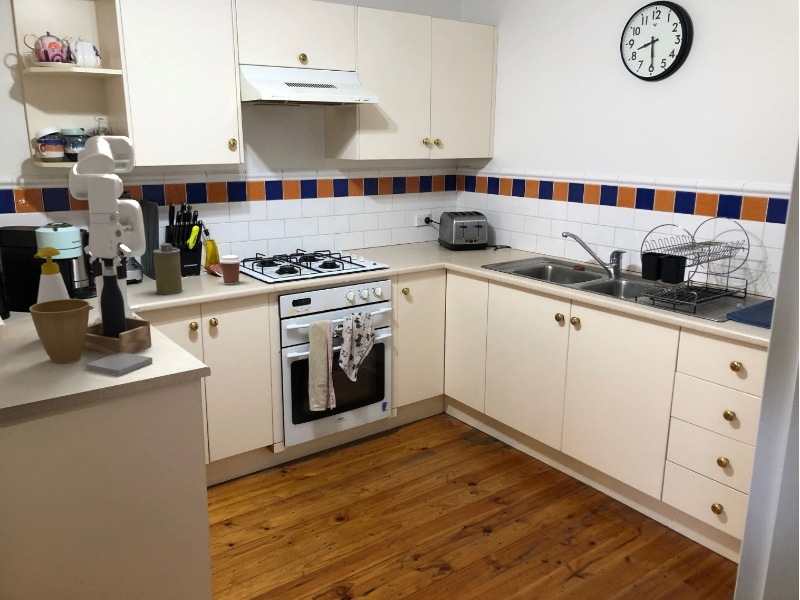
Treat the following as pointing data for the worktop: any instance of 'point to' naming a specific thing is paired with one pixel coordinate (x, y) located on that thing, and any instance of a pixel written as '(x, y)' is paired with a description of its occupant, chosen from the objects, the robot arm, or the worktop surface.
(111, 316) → the black water bottle
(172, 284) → the canister
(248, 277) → the worktop surface
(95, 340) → the wooden box
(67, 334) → the plant pot
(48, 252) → the soap bottle
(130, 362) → the tile
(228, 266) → the coffee cup
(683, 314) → the worktop surface
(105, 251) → the robot arm
